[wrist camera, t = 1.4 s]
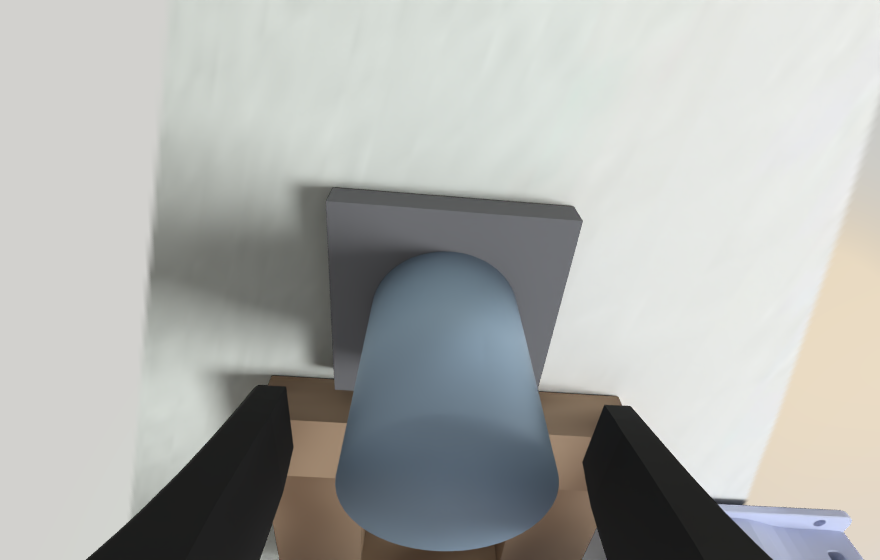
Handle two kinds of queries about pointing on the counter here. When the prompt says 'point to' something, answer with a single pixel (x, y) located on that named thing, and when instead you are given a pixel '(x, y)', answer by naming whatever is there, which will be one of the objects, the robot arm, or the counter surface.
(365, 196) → the mat
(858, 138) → the counter surface
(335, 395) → the socket plate
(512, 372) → the peg
